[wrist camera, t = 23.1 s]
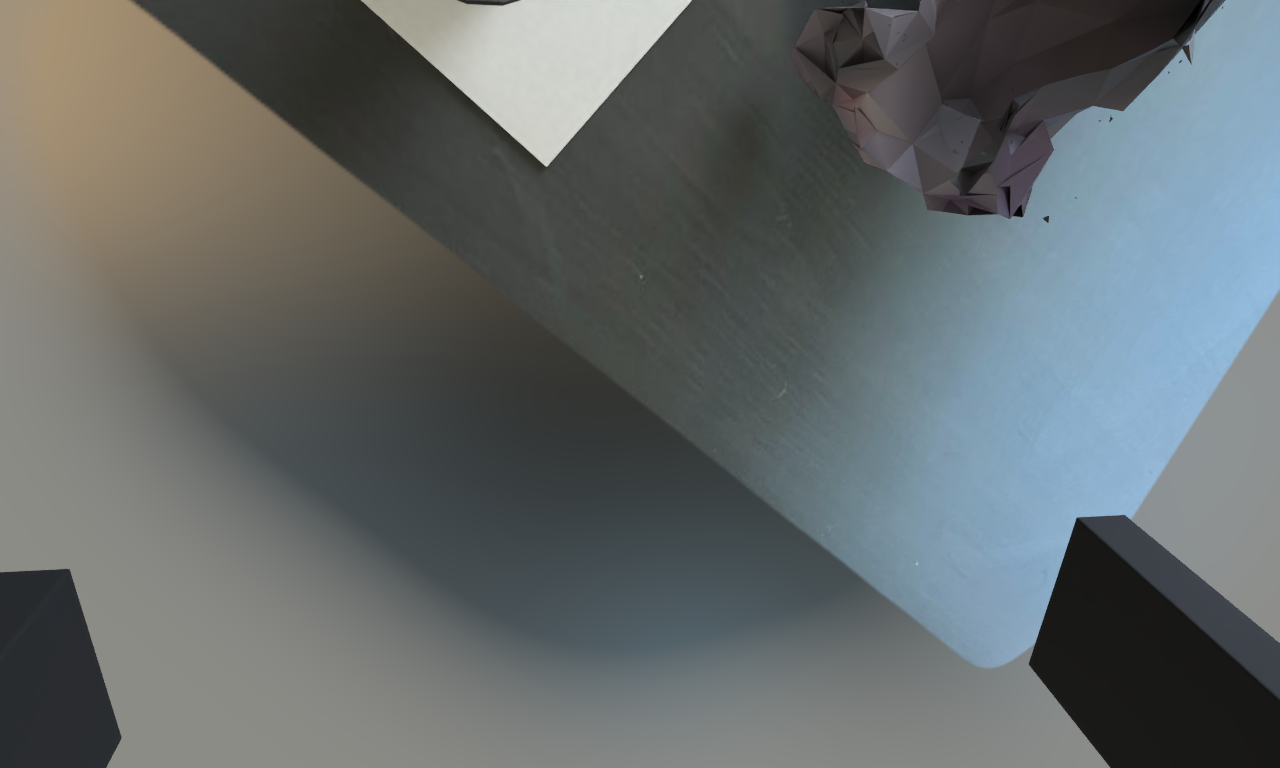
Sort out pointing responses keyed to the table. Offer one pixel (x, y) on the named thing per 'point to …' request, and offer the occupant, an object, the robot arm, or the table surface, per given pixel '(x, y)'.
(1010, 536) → the table surface
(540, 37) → the paper sheet
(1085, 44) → the dark grey faceted lump
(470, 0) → the beverage cup
